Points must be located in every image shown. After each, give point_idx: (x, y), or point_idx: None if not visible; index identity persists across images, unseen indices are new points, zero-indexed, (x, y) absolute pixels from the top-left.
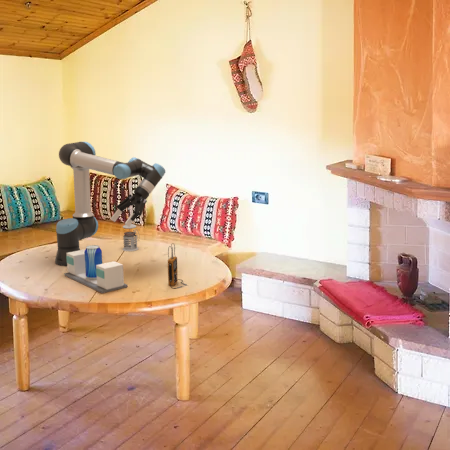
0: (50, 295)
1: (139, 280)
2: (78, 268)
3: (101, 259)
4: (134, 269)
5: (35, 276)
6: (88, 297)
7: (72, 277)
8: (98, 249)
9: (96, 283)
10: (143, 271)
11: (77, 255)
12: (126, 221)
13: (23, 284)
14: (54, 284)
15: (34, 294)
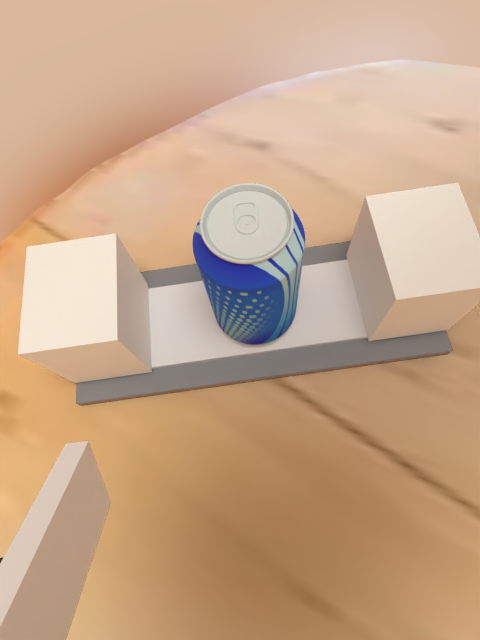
0: (188, 141)
1: (130, 505)
2: (355, 257)
3: (214, 299)
4: (337, 587)
5: (452, 149)
6: (79, 231)
7: (333, 244)
8: (204, 251)
9: (170, 289)
10: (268, 617)
11: (370, 215)
12: (68, 470)
13: (365, 101)
14: (304, 179)
15: (231, 107)
